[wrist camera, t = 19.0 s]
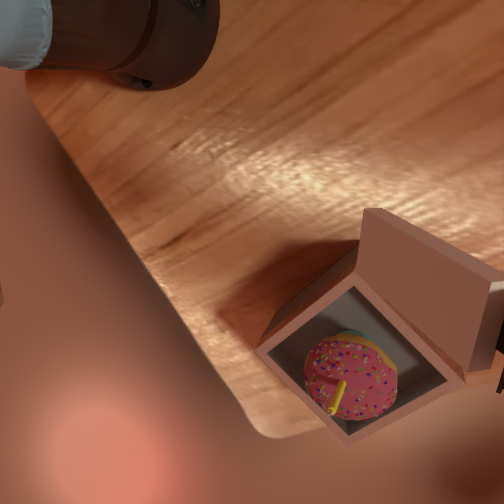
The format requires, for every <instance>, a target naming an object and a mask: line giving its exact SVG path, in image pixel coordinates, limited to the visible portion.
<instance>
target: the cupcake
mask: <svg viewBox="0 0 504 504" xmlns="http://www.w3.org/2000/svg"><path fill="white" fill-rule="evenodd" d="M303 375H304V382H305V386H306V389H307V391H308V392H309V395H310V396H311V398H312V400H313V399H314V401H315V402H316V404H317V405H319V406H320V407H321V408H322V409H323V410H324V411H325V412H326V413H328V416H333V415H334V416H337V417H340V418H343V419H345V420H351V421H359V420H362V421H364V422H365V420H366V419H369V418H373V417H377V416H378V415H380V414H381V413H383V412H384V411H385V410H387V409H388V408H389V407H390V406H391V405H392V404H393V403H394V401H395V399H396V394H397V367H396V365H395V364H394V363H393V362H392V360H391V359H390V358H389V357H388V356H387V354H386V353H385V352H384V351H383V350H382V349H381V348H380V347H378V346H377V345H376V344H375V343H374V341H373V340H372V339H371V338H370V337H369V336H367V335H366V334H364V333H362V332H359V331H354V330H348V331H343V332H340V333H338V334H337V335H335V336H332V337H326V338H324V339H322V340H321V341H320V342H319V343H317V344H316V345H314V346H313V347H312V348H311V350H310V352H309V353H308V355H307V358H306V362H305V365H304V373H303Z"/></svg>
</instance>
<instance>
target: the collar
mask: <svg viewBox="0 0 504 504" xmlns="http://www.w3.org/2000/svg"><path fill="white" fill-rule="evenodd" d="M356 264H357V261H356V262H355V263H354V264H352V265H351V266H350V267H349V268H347V269H346V270H345V271H344V272H343V273H341V274H340V275H339V276H338V277H336V278H335V279H334V280H333V281H331V282H330V283H329V284H328V285H326V286H325V287H324V288H323V289H322V290H320V291H319V292H318V293H317V294H315V295H314V296H313V297H312V298H310V299H309V300H308V301H307V302H305V303H304V304H303V305H302V306H300V307H299V308H298V309H297V310H296V311H294V312H293V313H292V314H291V315H289V316H288V317H287V318H286V319H284V320H283V321H282V322H281V323H279V324H278V325H277V326H276V327H274V328H273V329H272V330H271V331H270V332H268V333H267V334H266V335H265V336H263V337H262V338H261V339H260V341H259V342H258V344H257V346H256V347H255V349H254V351H253V352H254V353H255V354H256V355H257V356H258V357H259V358H260V359H261V360H262V361H263V362H264V363H265V364H266V365H267V366H268V367H269V368H270V369H271V370H272V371H273V372H274V373H275V374H276V375H277V376H278V377H279V378H280V379H281V380H282V381H283V382H284V383H285V384H286V385H287V386H288V387H289V388H290V389H291V390H292V391H293V392H294V393H295V394H296V395H297V396H298V397H299V398H300V399H301V400H302V401H303V402H304V403H305V404H306V405H307V406H308V407H309V408H310V409H311V410H312V411H313V412H314V413H315V414H316V415H317V416H318V417H319V418H320V419H321V420H322V421H323V422H324V423H325V424H326V425H327V426H328V427H329V428H330V429H331V430H332V431H333V432H334V433H335V434H336V435H337V436H338V437H339V438H340V439H341V440H342V441H343V442H344V443H345V444H346V445H347V446H348V447H349V446H350V445H352V444H354V443H356V442H358V441H360V440H362V439H363V438H365V437H367V436H369V435H371V434H373V433H375V432H376V431H378V430H380V429H382V428H384V427H386V426H387V425H390V424H391V423H393V422H395V421H397V420H399V419H401V418H402V417H404V416H406V415H408V414H410V413H412V412H413V411H415V410H417V409H419V408H421V407H423V406H425V405H427V404H428V403H430V402H432V401H434V400H436V399H438V398H439V397H441V396H443V395H445V394H447V393H449V392H451V391H453V390H454V389H456V388H458V387H460V386H462V385H464V384H466V383H465V378H464V372H463V368H462V367H461V366H460V365H459V364H458V363H456V362H455V361H454V360H453V359H452V358H451V357H450V356H449V355H447V354H446V353H445V352H444V351H443V350H442V349H441V348H440V347H438V346H437V345H436V344H435V343H434V342H433V341H432V340H431V339H429V338H428V337H427V336H426V335H425V334H424V333H423V332H422V331H420V330H419V329H418V328H417V327H416V326H415V325H414V324H412V323H411V322H410V321H409V320H408V319H407V318H406V317H405V316H403V315H402V314H401V313H400V312H399V311H398V310H397V309H396V308H394V307H393V306H392V305H391V304H390V303H389V302H388V301H387V300H385V299H384V298H383V297H382V296H381V295H380V294H379V293H378V292H376V291H375V290H374V289H373V288H372V287H371V286H370V285H369V284H367V283H366V282H365V281H364V280H363V279H362V278H361V277H360V276H358V275H357V274H356V273H355V271H356ZM353 286H355V287H356V288H357V289H358V290H359V291H360V292H361V293H362V294H363V295H364V296H365V297H366V298H367V299H368V300H369V301H370V302H371V303H372V304H373V305H374V306H375V307H376V308H377V309H378V311H379V312H380V313H381V314H382V315H383V316H384V317H385V318H386V319H387V320H388V321H389V322H390V323H391V324H392V325H393V326H394V327H395V328H396V329H397V330H398V331H399V332H400V333H401V334H402V335H403V336H404V337H405V338H406V339H407V340H408V341H409V342H410V343H411V344H412V345H413V346H414V347H415V348H416V349H417V350H418V351H419V352H420V353H421V354H422V355H423V356H424V357H425V358H426V359H427V360H428V361H429V362H430V363H431V364H432V365H433V366H434V367H435V368H436V369H437V370H436V371H434V372H432V373H431V374H429V375H427V376H425V377H424V378H422V379H420V380H419V381H417V382H415V383H413V384H412V385H410V386H408V387H406V388H405V389H403V390H401V391H400V392H398V393H397V394H396V399H395V401H394V403H393V404H392V405H391V406H390V407H389V408H388V409H387V410H385V411H384V412H383V413H381V414H380V415H378V416H377V417H373V418H369V419H366V420H365V422H364V421H362V420H359V421H351V420H345V419H343V418H340V417H337V416H334V415H333V416H328V413H326V412H325V411H324V410H323V409H322V408H321V407H320V406H319V405H317V404H316V402H315V401H314V399H313V400H312V398H311V396H310V395H309V392H308V391H307V389H306V386H305V382H304V375H303V373H304V371H303V370H302V369H301V368H300V367H299V366H298V365H297V364H296V363H295V362H294V361H293V360H292V359H291V358H290V357H289V356H288V355H287V354H286V353H285V352H284V351H283V350H282V349H281V348H280V347H279V346H278V344H279V343H280V342H282V341H283V340H284V339H285V338H287V337H288V336H289V335H291V334H292V333H293V332H295V331H296V330H297V329H298V328H300V327H301V326H302V325H304V324H305V323H306V322H307V321H309V320H310V319H311V318H313V317H314V316H315V315H316V314H318V313H319V312H320V311H322V310H323V309H324V308H325V307H327V306H328V305H329V304H331V303H332V302H333V301H335V300H336V299H337V298H338V297H340V296H341V295H342V294H344V293H345V292H346V291H347V290H349V289H350V288H351V287H353Z"/></svg>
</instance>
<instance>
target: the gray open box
mask: <svg viewBox="0 0 504 504" xmlns="http://www.w3.org/2000/svg"><path fill="white" fill-rule="evenodd" d="M358 249H359V244H358V245H357V246H355V247H354V248H353V249H352V250H351V251H349V252H348V253H347V254H346V255H345V256H343V257H342V258H341V259H340V260H339V261H337V262H336V263H335V264H334V265H333V266H331V267H330V268H329V269H328V270H327V271H325V272H324V273H323V274H322V275H321V276H319V277H318V278H317V279H316V280H315V281H313V282H312V283H311V284H310V285H309V286H307V287H306V288H305V289H304V290H303V291H301V292H300V293H299V294H298V295H297V296H295V297H294V298H293V299H292V300H290V301H289V302H288V303H287V304H286V305H284V306H283V307H282V308H281V309H280V310H278V311H277V312H276V313H275V315H274V317H273V318H272V320H271V322H270V324H269V325H268V327H267V329H266V330H265V332H264V334H263V336H265V335H266V334H267V333H268V332H270V331H271V330H272V329H273V328H274V327H276V326H277V325H278V324H279V323H281V322H282V321H283V320H284V319H286V318H287V317H288V316H289V315H291V314H292V313H293V312H294V311H296V310H297V309H298V308H299V307H300V306H302V305H303V304H304V303H305V302H307V301H308V300H309V299H310V298H312V297H313V296H314V295H315V294H317V293H318V292H319V291H320V290H322V289H323V288H324V287H325V286H326V285H328V284H329V283H330V282H331V281H333V280H334V279H335V278H336V277H338V276H339V275H340V274H341V273H343V272H344V271H345V270H346V269H347V268H349V267H350V266H351V265H352V264H354V263H355V262H356V261H357V257H358ZM348 330H354V331H359V332H362V333H364V334H366V335H367V336H369V337H370V338H371V339H372V340H373V341H374V343H375V344H376V345H377V346H378V347H380V348H381V349H382V350H383V351H384V352H385V353H386V354H387V356H388V357H389V358H390V359H391V360H392V362H393V363H394V364H395V365H396V367H397V393H398V392H400V391H401V390H403V389H405V388H406V387H408V386H410V385H412V384H413V383H415V382H417V381H419V380H420V379H422V378H424V377H425V376H427V375H429V374H431V373H432V372H434V371H436V370H437V369H436V368H435V367H434V366H433V365H432V364H431V363H430V362H429V361H428V360H427V359H426V358H425V357H424V356H423V355H422V354H421V353H420V352H419V351H418V350H417V349H416V348H415V347H414V346H413V345H412V344H411V343H410V342H409V341H408V340H407V339H406V338H405V337H404V336H403V335H402V334H401V333H400V332H399V331H398V330H397V329H396V328H395V327H394V326H393V325H392V324H391V323H390V322H389V321H388V320H387V319H386V318H385V317H384V316H383V315H382V314H381V313H380V312H379V311H378V309H377V308H376V307H375V306H374V305H373V304H372V303H371V302H370V301H369V300H368V299H367V298H366V297H365V296H364V295H363V294H362V293H361V292H360V291H359V290H358V289H357V288H356V287H355V286H353V287H351V288H350V289H349V290H347V291H346V292H345V293H344V294H342V295H341V296H340V297H338V298H337V299H336V300H335V301H333V302H332V303H331V304H329V305H328V306H327V307H325V308H324V309H323V310H322V311H320V312H319V313H318V314H316V315H315V316H314V317H313V318H311V319H310V320H309V321H307V322H306V323H305V324H304V325H302V326H301V327H300V328H298V329H297V330H296V331H295V332H293V333H292V334H291V335H289V336H288V337H287V338H285V339H284V340H283V341H282V342H280V343H279V344H278V346H279V347H280V348H281V349H282V350H283V351H284V352H285V353H286V354H287V355H288V356H289V357H290V358H291V359H292V360H293V361H294V362H295V363H296V364H297V365H298V366H299V367H300V368H301V369H302V370H303V371H304V365H305V362H306V358H307V355H308V353H309V352H310V350H311V348H312V347H313V346H314V345H316V344H317V343H319V342H320V341H321V340H322V339H324V338H326V337H332V336H335V335H337V334H338V333H340V332H343V331H348ZM263 336H262V337H263ZM262 337H261V338H262Z"/></svg>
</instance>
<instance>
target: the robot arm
mask: <svg viewBox="0 0 504 504" xmlns="http://www.w3.org/2000/svg"><path fill="white" fill-rule="evenodd" d="M219 18H220V2H219V0H0V66H3V67H8V68H10V69H14V70H20V71H23V70H29V69H49V70H96V71H101V72H102V73H104V74H106V75H107V76H109V77H111V78H112V79H114V80H116V81H117V82H119V83H121V84H123V85H125V86H128V87H130V88H134V89H138V90H144V91H159V90H168V89H172V88H175V87H177V86H180V85H182V84H183V83H185V82H187V81H188V80H190V79H191V78H192V77H193V76H194V75H195V74H196V73H197V72H198V71H199V70H200V69H201V68H202V66H203V65H204V63H205V62H206V60H207V59H208V57H209V55H210V53H211V51H212V48H213V46H214V43H215V40H216V36H217V32H218V27H219ZM355 273H356V274H357V275H358V276H360V277H361V278H362V279H363V280H364V281H365V282H366V283H367V284H369V285H370V286H371V287H372V288H373V289H374V290H375V291H376V292H378V293H379V294H380V295H381V296H382V297H383V298H384V299H385V300H387V301H388V302H389V303H390V304H391V305H392V306H393V307H394V308H396V309H397V310H398V311H399V312H400V313H401V314H402V315H403V316H405V317H406V318H407V319H408V320H409V321H410V322H411V323H412V324H414V325H415V326H416V327H417V328H418V329H419V330H420V331H422V332H423V333H424V334H425V335H426V336H427V337H428V338H429V339H431V340H432V341H433V342H434V343H435V344H436V345H437V346H438V347H440V348H441V349H442V350H443V351H444V352H445V353H446V354H447V355H449V356H450V357H451V358H452V359H453V360H454V361H455V362H456V363H458V364H459V365H460V366H461V367H462V368H463V369H464V370H465V371H467V372H472V371H479V370H485V369H491V365H492V362H493V358H494V355H495V352H496V349H497V350H498V351H500V352H501V353H502V354H503V355H504V273H503V272H501V271H499V270H497V269H495V268H493V267H491V266H490V265H488V264H486V263H484V262H482V261H480V260H478V259H476V258H475V257H473V256H471V255H469V254H467V253H465V252H463V251H461V250H460V249H458V248H456V247H454V246H452V245H450V244H448V243H446V242H445V241H443V240H441V239H439V238H437V237H435V236H433V235H431V234H430V233H428V232H426V231H424V230H422V229H420V228H418V227H416V226H415V225H413V224H411V223H409V222H407V221H405V220H403V219H401V218H400V217H398V216H396V215H394V214H392V213H390V212H388V211H386V210H385V209H383V208H367V209H364V212H363V220H362V227H361V235H360V242H359V249H358V257H357V264H356V271H355ZM3 304H4V298H3V293H2V288H1V283H0V309H1V307H2V305H3ZM502 389H504V368H503V371H502V375H501V378H500V381H499V385H498V388H497V391H496V392H497V393H501V392H502Z"/></svg>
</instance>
